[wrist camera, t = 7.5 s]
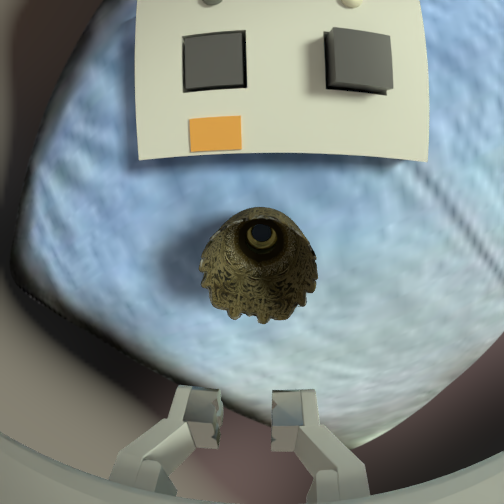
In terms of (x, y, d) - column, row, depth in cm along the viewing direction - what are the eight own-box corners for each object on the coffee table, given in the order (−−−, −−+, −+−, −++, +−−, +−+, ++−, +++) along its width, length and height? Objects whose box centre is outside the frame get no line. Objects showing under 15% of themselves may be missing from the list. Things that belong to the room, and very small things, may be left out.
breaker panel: (150, 7, 18) (135, -5, 15) (405, 10, 17) (421, -1, 13) (153, 155, 23) (136, 160, 20) (411, 157, 22) (429, 162, 19)
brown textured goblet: (315, 200, 24) (334, 234, 17) (293, 277, 27) (300, 333, 20) (226, 181, 24) (207, 207, 17) (212, 261, 27) (192, 312, 20)
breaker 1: (195, 48, 20) (185, 38, 17) (245, 44, 19) (241, 32, 16) (196, 92, 21) (185, 88, 18) (246, 89, 21) (242, 83, 18)
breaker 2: (324, 39, 17) (332, 26, 14) (375, 45, 17) (390, 35, 14) (326, 87, 19) (336, 81, 16) (377, 92, 19) (393, 88, 16)
